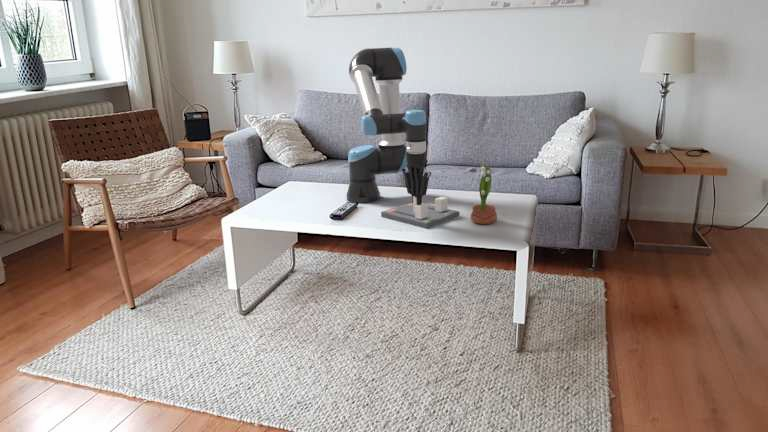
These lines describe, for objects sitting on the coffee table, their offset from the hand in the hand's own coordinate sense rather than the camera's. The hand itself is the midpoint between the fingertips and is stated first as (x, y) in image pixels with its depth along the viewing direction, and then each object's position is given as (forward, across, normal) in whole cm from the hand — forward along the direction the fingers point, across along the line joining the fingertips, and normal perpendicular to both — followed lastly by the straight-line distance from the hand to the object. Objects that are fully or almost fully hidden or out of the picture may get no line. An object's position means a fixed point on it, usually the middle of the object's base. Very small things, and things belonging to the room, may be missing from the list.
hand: (417, 212), depth 224 cm
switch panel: (+4, -4, +6) cm, 8 cm away
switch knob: (+2, +2, +12) cm, 12 cm away
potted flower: (+4, +20, +16) cm, 26 cm away
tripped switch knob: (+2, +2, 0) cm, 3 cm away
